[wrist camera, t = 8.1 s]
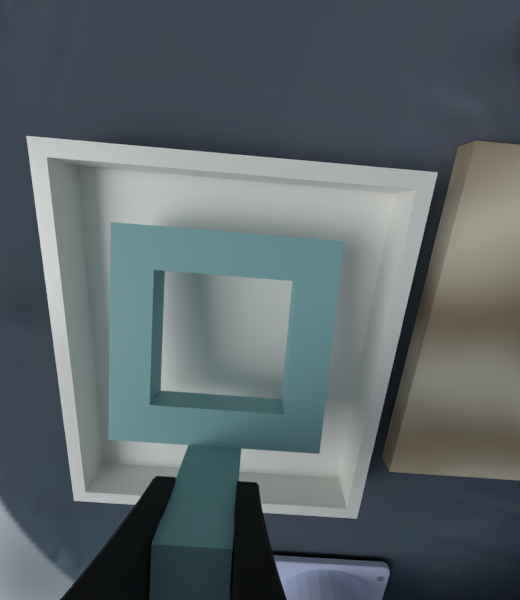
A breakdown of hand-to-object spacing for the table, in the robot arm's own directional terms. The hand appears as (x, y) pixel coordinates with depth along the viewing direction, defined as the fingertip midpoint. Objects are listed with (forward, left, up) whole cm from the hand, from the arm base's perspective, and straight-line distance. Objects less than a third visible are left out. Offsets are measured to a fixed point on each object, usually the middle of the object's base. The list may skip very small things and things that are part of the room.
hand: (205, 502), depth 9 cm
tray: (+3, 0, -6) cm, 7 cm away
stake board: (+4, -15, -6) cm, 17 cm away
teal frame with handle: (+4, 0, -4) cm, 6 cm away
